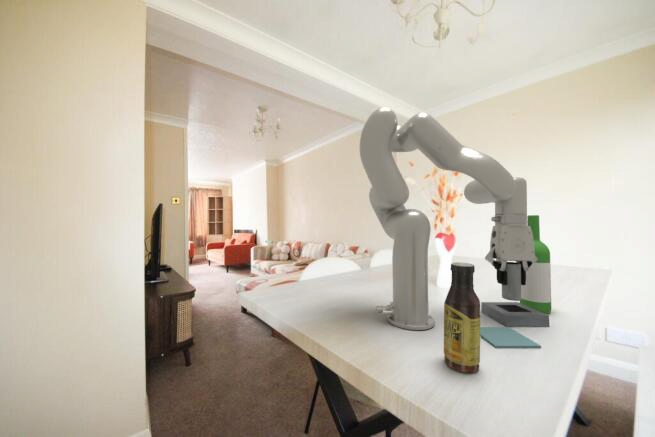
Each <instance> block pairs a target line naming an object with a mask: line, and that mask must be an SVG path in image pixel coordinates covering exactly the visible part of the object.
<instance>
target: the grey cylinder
mask: <svg viewBox="0 0 655 437" xmlns="http://www.w3.org/2000/svg"><path fill="white" fill-rule="evenodd" d="M505 271H506V272H507V285H502V284H501V298H502V299H504V300H508V301H511V302H520V300H521V264H520V263H516V261H507V262H506V266H505Z"/></svg>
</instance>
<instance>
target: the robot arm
mask: <svg viewBox="0 0 655 437" xmlns="http://www.w3.org/2000/svg"><path fill="white" fill-rule="evenodd" d="M398 124H399V123H398V117H397V115H396V113H395V112H394V111H393V109H391V108H389V107H386V106H385V107H384V106H382V107H379V108H377V109H375V110H374V111H373V112H372V113H371V114H370V115H369V117H368V118H367V119H366V122H365V123H364V125H363V128H362V131H361V135H360V140H359V157H360V161H361V164H362V166H363V167H362V168H363V169H364V171H365V173H366V175H367V178H368V181H369V183H370V184H371V188H369V193H368V195H369V196H368V198H369V202H370V205H371V208H372V210H373V211H374V213H375V216H376V218H377V219H378V222H379V223H380V226H381V227H382V229H383V230H384V233H385V234H386V235H387V236H388V237H389V238H391V239H392V240H393V246H392V259H391V260H392V301H389V304H388V305H386V306H385V305H384V306H383V305H376V306H375V310H376V314H382V316H387V321H388V322H389V323H390V324H391V325H393V326H395V327H398V328H401V329H405V330H411V331H424V330H430V329H431V328H433V327H435V325H436V322H435V318H434V317H433V316H432V315H430V314H429V267H428V266H429V264H428V263H429V262H428V260H429V259H428V258H429V257H428V256H429V243H430V239H431V238H430V236H431V222H430V220H429V218H428V216H427V215H426V214H425V213H424V212H422V211H421V210H418V209H415V208H407V209H406V206H405V205H404V204H405V203H407V202H408V199H409V197H410V189H409V186H408V184H407V182H406V181H405V179H404V177H403V175H402V173H401V171H400V169H399V167H398V165H397V163H396V161H395V159H394V155H393V154H392V153H410V152H413V151H417V150H419V152H421V153H422V154H423V155H424V156H425V157H426V158H427V160H430V162H431V163H432V164H433V165H434V166H436V167H437V168H439V169H441V170H445V171H448V172H449V171H450V172H456V173H461V174H462V175H463V174H464V175H466V176H468V177H470V178H472V179H474V180H471V181H470V182H468V183H467V184H466V185H465V187H464V189H463V195H464V198H465V199H466V200H467V201H469V202H470V203H472V204H475V205H476V204H477V205H483V204H490V203H494V216H492V217H491V219H490V220H491V222H494V225H493V226H492V230H491V233H490V239H489V240H490V243H489V251H488V252H487V254H486V256H484V260H486V262H487V263H489V264H490V265H492V266H493V268H494V269H495V270H496V281H497V284H501V286H502V285H507V272H506V271H505V266H506V262H516V263H520V264H521V285H526V271H528V268H529V267H530V266H531V265H532V263H534V262H536V261H537V260H538V258H537V257H536V256H535V248H534V239H533V234H532V230H531V227H530V226H528V225H527V216H528V190H527V189H528V188H527V187H528V186H527V185H528V184H527V180H526V179H525V178H524V177H513V175H512V174H511V173H510V171H508V169H506V167H504V165H502V164H501V163H500V161H498V160H497V159H495V157H494V158H493V157H492V156H490V155H488V154H486V153H483V152H481V151H478V150H476V149H474V148H470V147H468V146H466V145H463V144H462V143H461V142H460V141H458V140H457V139H456V138H455V136H453V135H452V134H451V133H450V131H448V130H447V129H446V128H445V127H444V126H443V125H442V124H441V123H439V121H438V120H436V119H435V118H434V116H432V115H431V114H429V113H428V112H418V113H416V114H414V115H413V116H411V117H410V118H409V119H408V120H406V122H405V123H404V124H403V125H398Z"/></svg>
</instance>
